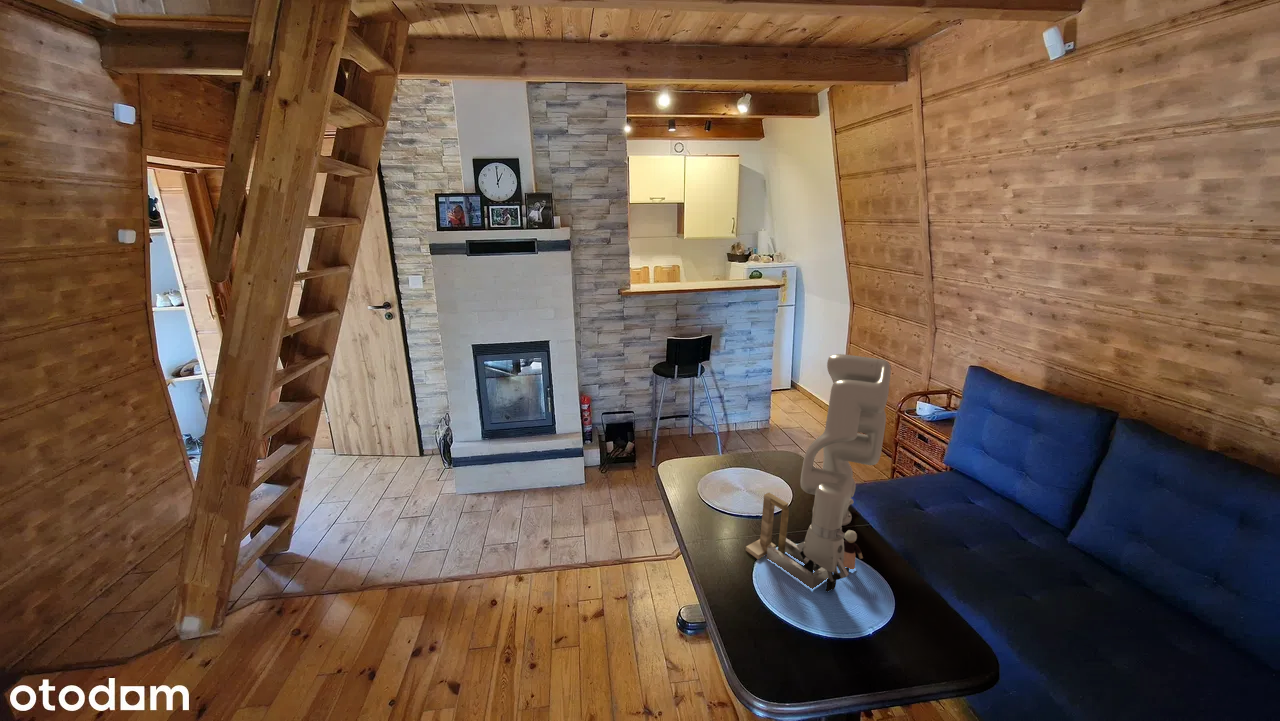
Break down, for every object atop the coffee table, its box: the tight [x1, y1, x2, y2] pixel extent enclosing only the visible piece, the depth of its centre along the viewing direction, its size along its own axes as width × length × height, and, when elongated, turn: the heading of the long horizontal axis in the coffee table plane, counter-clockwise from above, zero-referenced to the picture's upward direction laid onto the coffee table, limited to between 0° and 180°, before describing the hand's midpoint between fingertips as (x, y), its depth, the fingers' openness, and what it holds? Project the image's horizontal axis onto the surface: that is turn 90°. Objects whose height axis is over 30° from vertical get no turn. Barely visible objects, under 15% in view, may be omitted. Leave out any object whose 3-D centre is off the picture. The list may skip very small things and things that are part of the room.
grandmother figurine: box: [843, 529, 864, 569], centre depth 143 cm, size 8×4×13 cm, turn 71°
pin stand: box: [745, 492, 790, 560], centre depth 148 cm, size 8×10×19 cm
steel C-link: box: [766, 537, 829, 589], centre depth 144 cm, size 16×8×4 cm, turn 36°
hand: (818, 581), depth 139 cm, fingers open, 6 cm apart
